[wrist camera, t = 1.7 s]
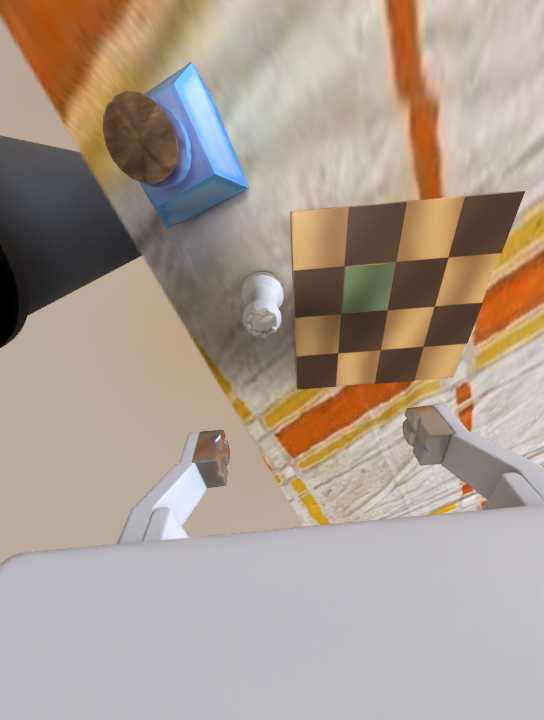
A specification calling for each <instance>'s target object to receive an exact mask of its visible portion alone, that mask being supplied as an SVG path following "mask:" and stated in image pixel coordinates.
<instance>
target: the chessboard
mask: <svg viewBox="0 0 544 720" xmlns="http://www.w3.org/2000/svg"><path fill="white" fill-rule="evenodd" d="M524 193H525V191H512V192H501V193H490V194H479V195H468V196H457V197H446V198H435V199H424V200H413V201H401V202H390V203H379V204H368V205H357V206H346V207H335V208H324V209H313V210H302V211H291V236H292V266H293V296H294V326H295V356H296V385H297V389H310V388H323V387H336V386H340V385H354V384H367V383H375V384H377V383H391V382H404V381H415V380H421V379H435V378H448V377H454V374H455V372H456V369H457V366H458V364H459V361H460V358H461V356H462V353H463V351H464V348H465V345H466V344H467V343H468V340H469V337H470V335H471V332H472V330H473V327H474V324H475V322H476V319H477V316H478V314H479V311H480V309H481V306H482V300H483V298H484V295H485V292H486V290H487V287H488V284H489V282H490V279H491V276H492V274H493V271H494V269H495V266H496V263H497V261H498V258H499V255H500V253H502V251H503V248H504V245H505V243H506V240H507V238H508V235H509V232H510V230H511V227H512V224H513V222H514V219H515V217H516V214H517V211H518V209H519V206H520V203H521V201H522V198H523V196H524Z"/></svg>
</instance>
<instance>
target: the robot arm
mask: <svg viewBox="0 0 544 720" xmlns="http://www.w3.org/2000/svg"><path fill="white" fill-rule="evenodd" d="M405 416H406V417H407V419H406V420H405V421H404V422H403V434H404V436H405V439H406V441H407V443H408V444H410V445H411V446H413V447H414V449H413V453H414V455H415V457H416V458H417V460H418V462H419V463H420V465H434V464H442V466H444V467H445V468H446V469H448V470H449V471H450V472H452V473H453V474H454V475H456V476H457V477H458V478H460V479H461V480H462V481H463V482H465V483H466V484H467V485H469V486H470V487H471V488H473V489H474V490H475V491H477V492H478V493H479V494H481V495H482V496H483V497H484V498H486V499H487V502H486V503H485V505H484V507H483V509H482V510H477V511H466V512H456V513H445V514H434V515H423V516H413V517H402V518H391V519H380V520H370V521H359V522H348V523H337V524H327V525H316V526H306V527H295V528H284V529H274V530H263V531H252V532H241V533H232V534H220V535H209V536H199V537H188V536H187V534H186V533H185V531H184V530H183V528H182V525H183V524H184V523H185V521H186V520H187V518H188V517H189V515H190V514H191V512H192V511H193V509H194V508H195V506H196V505H197V504H198V502H199V500H200V499H201V498H202V496H203V495H204V493H205V492H206V490H207V488H211V487H218V486H225V485H226V483H227V475H228V471H227V467H226V466H227V465H228V463H229V459H230V450H229V445H228V442H227V441H226V440H225V433H224V430H214V431H204V432H194V433H190V434H189V435H188V437H187V440H186V443H185V446H184V450H183V453H182V456H181V460H180V462H179V464H176V465H175V466H174V467H173V468H172V469H171V470H170V471H169V472H168V473H167V474H166V475H165V476H164V477H163V478H162V479H161V480H160V481H159V482H158V483H157V484H156V485H155V486H154V487H153V488H152V489H151V490H150V491H149V492H148V493H147V494H146V495H145V496H144V497H143V498H142V499H141V500H140V501H139V502H138V503H137V504H136V505H135V506H134V507H133V508H132V510H131V512H130V514H129V516H128V519H127V521H126V524H125V526H124V528H123V531H122V533H121V535H120V538H119V540H118V543H117V544H113V545H101V546H91V547H79V548H69V549H58V550H47V551H35V552H25V553H19V554H16V555H13V556H12V557H10V558H8V559H7V560H5V561H4V562H2V563H1V564H0V720H544V467H542V466H540V465H538V464H536V463H534V462H532V461H530V460H528V459H526V458H524V457H522V456H520V455H518V454H516V453H514V452H512V451H510V450H508V449H506V448H504V447H502V446H500V445H498V444H496V443H494V442H492V441H490V440H488V439H486V438H484V437H482V436H480V435H478V434H476V433H474V432H471V433H470V432H469V431H468V430H467V429H466V427H465V426H464V425H463V424H462V423H461V422H460V421H459V419H458V418H457V417H456V416H455V415H454V414H453V412H452V411H451V410H450V409H449V408H448V407H447V406H446V405H445V404H438V405H431V406H422V407H414V408H407V410H406V412H405Z"/></svg>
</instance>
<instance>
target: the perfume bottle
mask: <svg viewBox="0 0 544 720" xmlns="http://www.w3.org/2000/svg"><path fill="white" fill-rule="evenodd" d="M103 134H104V138H105V143H106V146H107V148H108V150H109V153H110V155H111V157H112V159H113V160H114V161H115V163H116V164H117V165H118V167H119V168H120V169H121V170H122V171H123V172H124V173H125V174H127V175H128V176H129V177H130V178H132V179H134V180H136V181H139V183H140V184H141V186H142V188H143V189H144V191H145V193H146V194H147V196H148V198H149V199H150V201H151V203H152V204H153V206H154V208H155V209H156V211H157V213H158V215H159V216H160V218H161V220H162V221H163V223H164V225H165V226H166V228H168V227H171V226H173V225H176V224H179V223H182V222H184V221H187V220H189V219H191V218H193V217H195V216H197V215H198V214H200V213H202V212H204V211H206V210H208V209H210V208H211V207H213V206H215V205H217V204H219V203H221V202H223V201H224V200H226V199H228V198H230V197H232V196H234V195H236V194H237V193H239V192H241V191H243V190H245V189H247V188H249V187H248V184H247V182H246V179H245V177H244V174H243V172H242V170H241V167H240V165H239V162H238V160H237V157H236V155H235V152H234V150H233V147H232V145H231V143H230V140H229V138H228V135H227V133H226V130H225V128H224V125H223V123H222V120H221V118H220V116H219V113H218V111H217V108H216V106H215V103H214V101H213V98H212V96H211V94H210V92H209V91H208V89H207V87H206V85H205V84H204V82H203V80H202V78H201V77H200V75H199V73H198V71H197V69H196V68H195V66H194V64H193V62H191V63H189V64H188V65H187V66H185V67H184V68H182V69H181V70H179V71H178V72H176V73H175V74H173V75H172V76H170V77H169V78H167V79H166V80H164V81H163V82H162V83H160V84H159V85H157V86H156V87H154V88H153V89H151V90H150V91H148V92H147V93H145V94H144V95H143V94H141V93H139V92H128V91H126V92H123V93H121V94H118V95H116V96H115V97H114V98H113V99H112V100H111V101H110V102H109V103H108V105H107V107H106V110H105V113H104V116H103Z"/></svg>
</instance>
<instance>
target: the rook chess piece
mask: <svg viewBox="0 0 544 720" xmlns="http://www.w3.org/2000/svg"><path fill="white" fill-rule="evenodd" d="M241 297H242V301H243V304H244V305H245V307H246V309H245V310H244V312H243V318H242V320H243V324H244V326H245V328H246V329H247V330H248V331H249V332H250V333H251V334H252V335H254V336H255V337H256V336H262V338H265V337H268V335H271V334H273V333H274V332H276V330H277V329H278V328H279V327H280V324H281V320H282V318H281V312H280V311H279V307H280V306H281V305H282V301H283V298H284V291H283V285H282V284H281V282H280V280H279V279H278V278H277V277H276V276H274V275H273V274H272V273H268V272H263V271H262V272H257V273H253V274H252V275H250V276H249V277H247V279H246V280H245V282H244V283H243V285H242V291H241Z"/></svg>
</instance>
